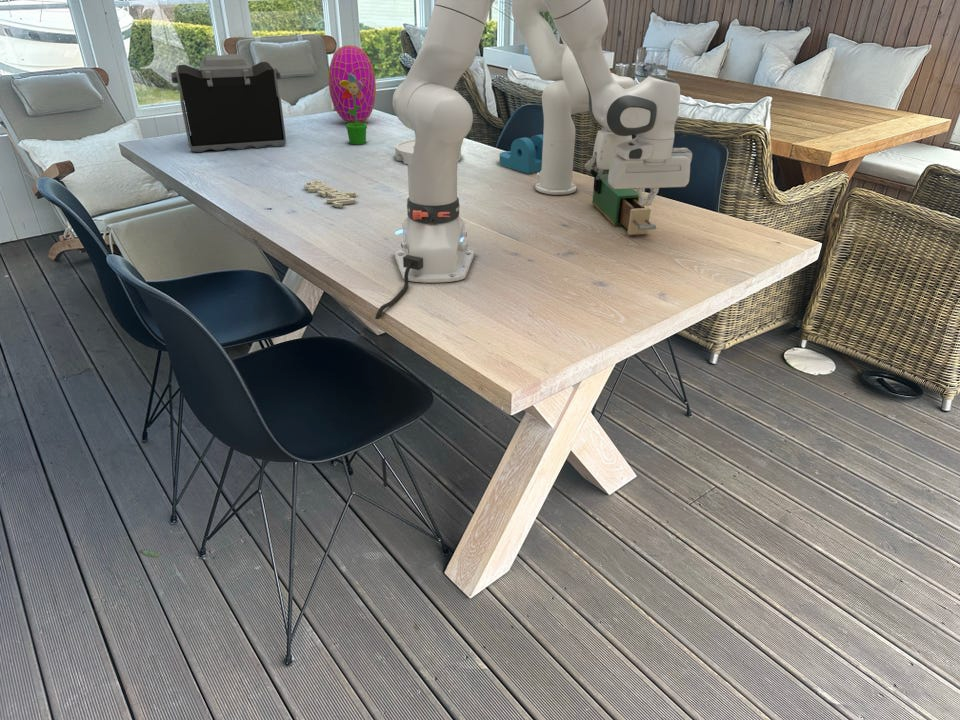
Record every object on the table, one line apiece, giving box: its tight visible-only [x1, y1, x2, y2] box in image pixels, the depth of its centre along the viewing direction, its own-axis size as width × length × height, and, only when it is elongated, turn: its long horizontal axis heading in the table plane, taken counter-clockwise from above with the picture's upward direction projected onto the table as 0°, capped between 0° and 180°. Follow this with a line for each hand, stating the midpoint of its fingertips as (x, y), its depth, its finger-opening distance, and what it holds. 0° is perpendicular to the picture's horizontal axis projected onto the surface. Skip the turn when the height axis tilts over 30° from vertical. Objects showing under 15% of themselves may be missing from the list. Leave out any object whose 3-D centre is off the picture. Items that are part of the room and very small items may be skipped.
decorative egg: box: [328, 44, 377, 124], centre depth 286 cm, size 19×19×30 cm
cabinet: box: [591, 173, 639, 227], centre depth 190 cm, size 18×6×8 cm, turn 12°
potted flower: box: [339, 73, 368, 145], centre depth 255 cm, size 9×8×25 cm
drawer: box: [618, 198, 657, 236], centre depth 181 cm, size 22×5×6 cm, turn 11°
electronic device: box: [170, 53, 287, 153], centre depth 252 cm, size 37×22×30 cm, turn 111°
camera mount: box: [498, 133, 543, 175], centre depth 233 cm, size 18×10×10 cm, turn 39°
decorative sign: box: [303, 179, 356, 208], centre depth 205 cm, size 26×1×10 cm
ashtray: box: [394, 138, 462, 165], centre depth 243 cm, size 23×23×4 cm
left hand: (645, 204), depth 171 cm, fingers closed
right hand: (609, 191), depth 194 cm, fingers closed on cabinet, 6 cm apart
